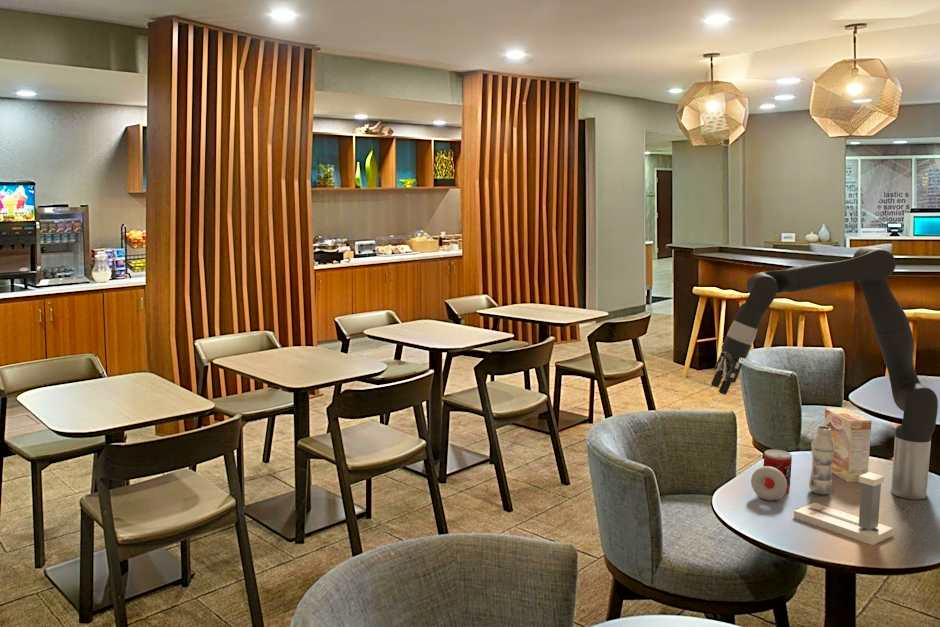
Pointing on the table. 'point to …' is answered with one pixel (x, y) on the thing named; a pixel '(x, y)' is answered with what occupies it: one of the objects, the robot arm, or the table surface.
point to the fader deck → (842, 523)
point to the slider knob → (870, 500)
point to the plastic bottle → (822, 461)
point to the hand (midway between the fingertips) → (718, 389)
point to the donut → (772, 474)
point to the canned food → (778, 465)
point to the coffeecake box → (849, 442)
